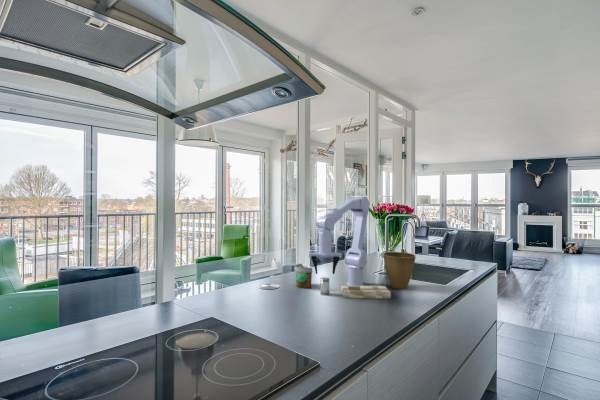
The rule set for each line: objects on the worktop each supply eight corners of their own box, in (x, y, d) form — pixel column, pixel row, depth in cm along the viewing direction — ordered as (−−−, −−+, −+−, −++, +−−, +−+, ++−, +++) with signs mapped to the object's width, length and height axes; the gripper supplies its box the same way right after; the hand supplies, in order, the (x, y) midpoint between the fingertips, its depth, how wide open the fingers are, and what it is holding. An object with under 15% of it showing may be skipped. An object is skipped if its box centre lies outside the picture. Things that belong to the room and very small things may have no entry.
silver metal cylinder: (320, 292, 144) (320, 277, 144) (329, 292, 144) (329, 277, 144) (320, 295, 140) (320, 279, 140) (329, 295, 140) (329, 279, 140)
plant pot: (379, 288, 152) (380, 255, 152) (387, 281, 165) (387, 251, 165) (412, 293, 144) (412, 258, 144) (417, 285, 157) (417, 253, 157)
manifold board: (341, 290, 148) (341, 285, 148) (384, 291, 147) (384, 285, 147) (344, 297, 137) (344, 292, 137) (390, 298, 136) (390, 292, 136)
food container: (290, 284, 159) (290, 264, 159) (301, 283, 161) (301, 263, 161) (300, 290, 148) (300, 269, 148) (312, 289, 150) (312, 268, 150)
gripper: (309, 244, 139) (308, 275, 138) (342, 244, 138) (342, 275, 138) (308, 242, 146) (308, 271, 145) (340, 242, 145) (340, 272, 145)
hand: (324, 273), depth 142 cm, fingers open, 7 cm apart
